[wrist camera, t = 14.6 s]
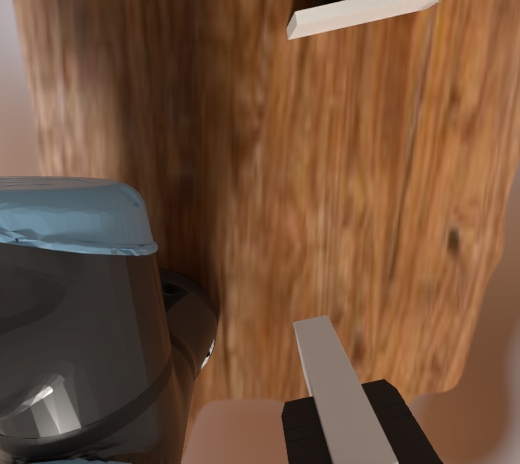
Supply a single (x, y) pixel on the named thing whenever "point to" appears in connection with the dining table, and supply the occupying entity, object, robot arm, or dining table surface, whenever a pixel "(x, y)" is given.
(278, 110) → the dining table surface
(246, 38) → the dining table surface
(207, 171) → the dining table surface
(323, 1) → the candle
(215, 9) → the dining table surface
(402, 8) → the frame
